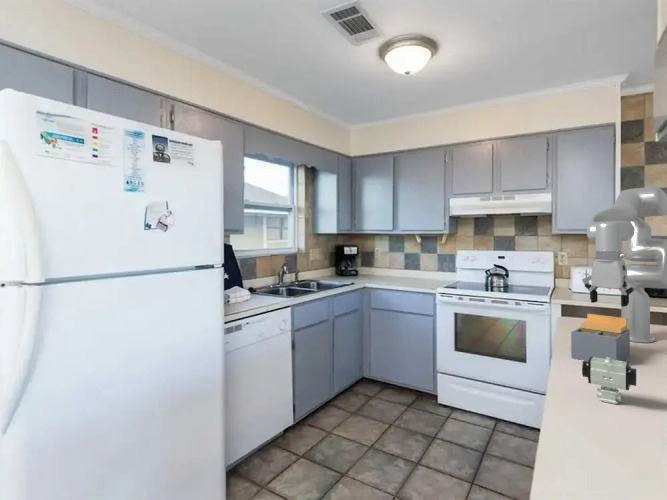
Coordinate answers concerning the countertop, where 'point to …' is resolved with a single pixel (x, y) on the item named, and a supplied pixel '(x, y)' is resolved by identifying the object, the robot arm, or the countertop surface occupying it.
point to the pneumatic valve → (609, 377)
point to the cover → (605, 323)
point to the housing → (600, 344)
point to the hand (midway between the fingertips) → (608, 304)
